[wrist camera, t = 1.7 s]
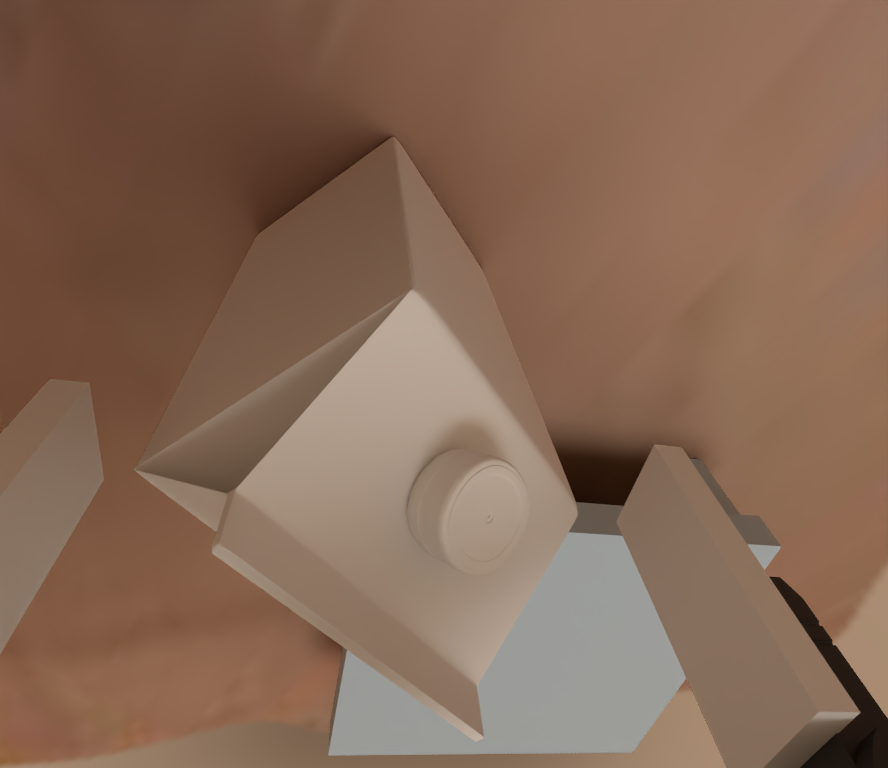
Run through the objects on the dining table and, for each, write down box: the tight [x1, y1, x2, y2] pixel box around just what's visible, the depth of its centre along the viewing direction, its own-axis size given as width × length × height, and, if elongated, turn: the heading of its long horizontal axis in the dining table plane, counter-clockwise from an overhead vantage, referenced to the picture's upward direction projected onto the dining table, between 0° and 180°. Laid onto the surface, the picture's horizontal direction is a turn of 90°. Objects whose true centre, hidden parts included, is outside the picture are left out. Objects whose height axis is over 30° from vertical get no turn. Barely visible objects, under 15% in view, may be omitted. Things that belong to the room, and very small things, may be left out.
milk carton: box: [134, 137, 578, 742], centre depth 17 cm, size 7×7×19 cm
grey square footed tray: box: [328, 458, 782, 755], centre depth 34 cm, size 20×20×7 cm
